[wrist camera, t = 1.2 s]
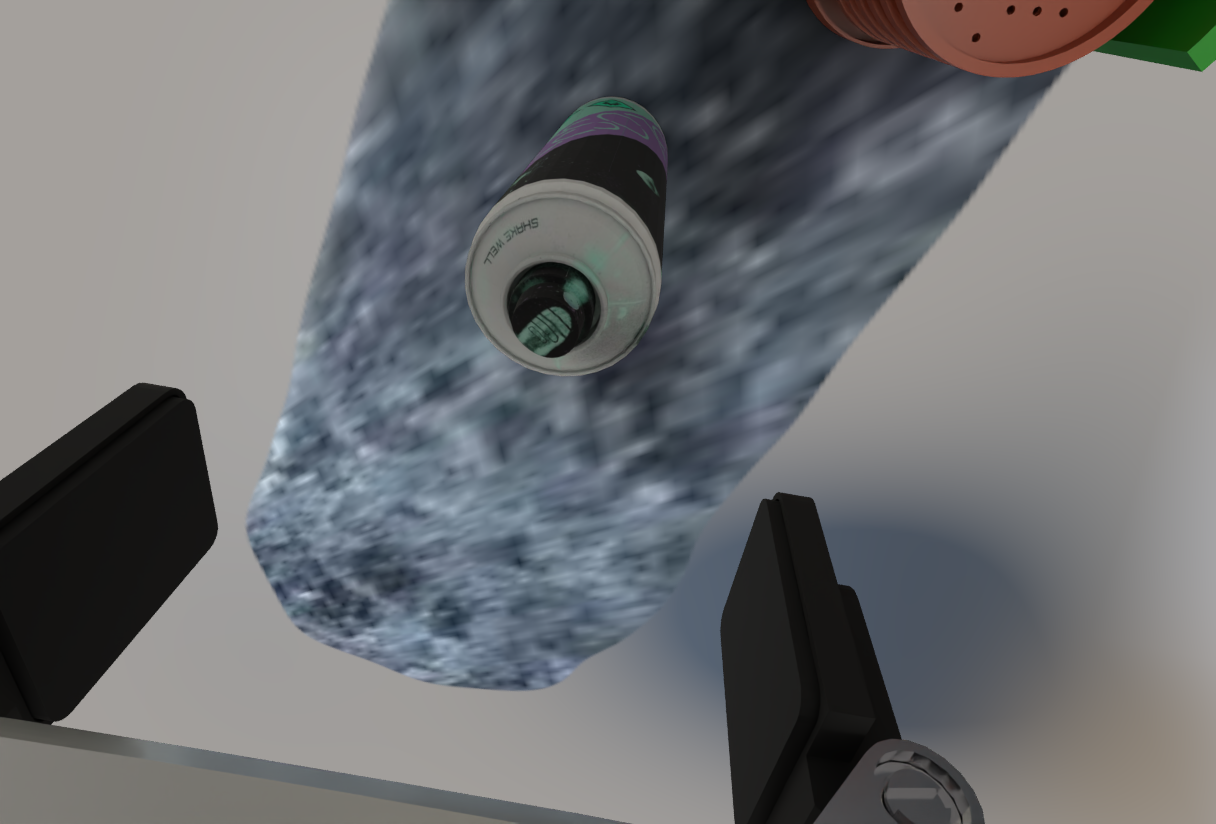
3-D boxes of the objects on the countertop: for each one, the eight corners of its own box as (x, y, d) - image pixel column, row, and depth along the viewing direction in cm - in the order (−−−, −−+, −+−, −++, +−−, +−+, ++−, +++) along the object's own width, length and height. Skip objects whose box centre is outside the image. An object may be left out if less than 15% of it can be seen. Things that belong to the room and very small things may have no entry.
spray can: (681, 113, 32) (686, 251, 15) (651, 224, 35) (626, 445, 18) (569, 82, 32) (446, 188, 15) (547, 197, 35) (424, 395, 18)
